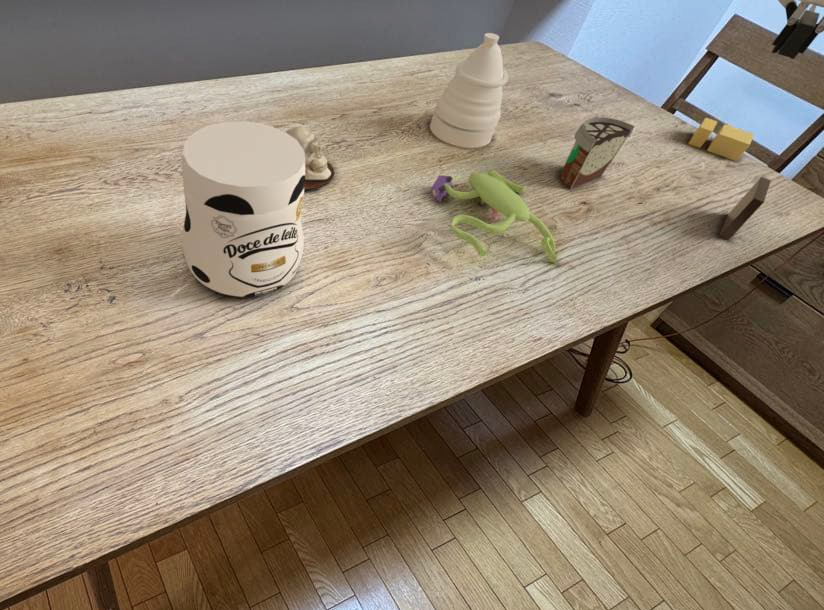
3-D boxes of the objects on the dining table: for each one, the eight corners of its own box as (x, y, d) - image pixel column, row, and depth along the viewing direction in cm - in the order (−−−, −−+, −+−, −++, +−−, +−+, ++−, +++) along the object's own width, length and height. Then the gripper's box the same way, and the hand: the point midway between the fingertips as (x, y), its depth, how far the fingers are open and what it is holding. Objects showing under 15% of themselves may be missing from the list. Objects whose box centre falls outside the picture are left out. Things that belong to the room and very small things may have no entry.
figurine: (447, 272, 81) (460, 242, 76) (420, 176, 96) (429, 147, 92) (560, 278, 82) (579, 249, 77) (515, 183, 97) (529, 154, 93)
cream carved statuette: (348, 162, 95) (339, 136, 85) (322, 214, 97) (309, 195, 87) (293, 138, 98) (278, 110, 88) (268, 189, 99) (251, 168, 90)
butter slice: (704, 139, 114) (717, 121, 111) (698, 150, 111) (712, 131, 108) (692, 135, 115) (705, 117, 111) (686, 145, 112) (700, 127, 108)
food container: (579, 162, 104) (608, 110, 96) (604, 177, 101) (636, 125, 93) (539, 176, 100) (566, 123, 91) (564, 193, 97) (594, 140, 89)
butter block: (739, 152, 112) (754, 134, 108) (734, 163, 109) (750, 144, 106) (710, 142, 114) (724, 123, 110) (705, 152, 111) (719, 133, 107)
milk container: (267, 325, 71) (275, 210, 56) (161, 280, 75) (143, 161, 60) (318, 256, 81) (336, 142, 66) (222, 219, 84) (220, 103, 69)
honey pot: (479, 156, 102) (519, 54, 87) (419, 135, 105) (449, 33, 91) (498, 131, 109) (539, 32, 94) (442, 111, 112) (473, 13, 97)
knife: (791, 58, 87) (815, 27, 84) (777, 53, 88) (800, 22, 84) (801, 32, 96) (823, 2, 92) (788, 28, 96) (810, -1, 93)
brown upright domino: (735, 220, 96) (771, 180, 89) (726, 242, 91) (764, 202, 85) (726, 216, 96) (761, 176, 90) (717, 238, 92) (753, 198, 85)
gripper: (955, -79, 75) (835, 62, 90) (833, -104, 80) (738, 34, 95) (957, -70, 71) (832, 75, 86) (829, -98, 76) (731, 45, 91)
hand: (783, 52), depth 90 cm, fingers closed on knife, 2 cm apart
